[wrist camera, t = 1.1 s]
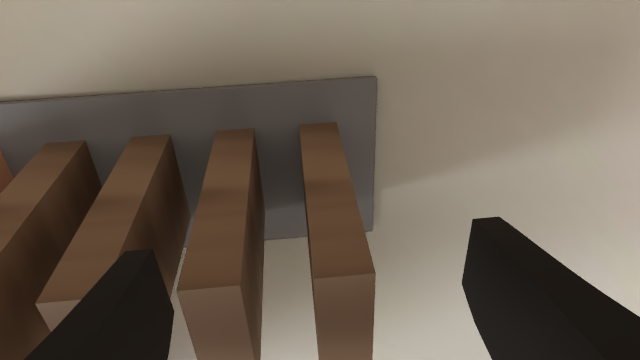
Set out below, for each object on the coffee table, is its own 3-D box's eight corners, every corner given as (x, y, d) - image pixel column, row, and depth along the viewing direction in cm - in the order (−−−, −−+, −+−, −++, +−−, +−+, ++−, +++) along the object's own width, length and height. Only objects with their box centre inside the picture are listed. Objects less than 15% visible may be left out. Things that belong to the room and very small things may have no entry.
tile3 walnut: (191, 217, 21) (144, 397, 14) (156, 219, 21) (91, 403, 14) (170, 133, 19) (100, 297, 11) (131, 136, 19) (35, 303, 11)
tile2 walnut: (265, 210, 21) (259, 386, 14) (231, 213, 21) (207, 391, 14) (253, 127, 19) (239, 285, 11) (215, 130, 19) (176, 291, 11)
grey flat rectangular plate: (371, 227, 23) (372, 231, 23) (-13, 259, 22) (-17, 264, 22) (375, 76, 18) (377, 78, 18) (-105, 109, 18) (-110, 112, 17)
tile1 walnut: (338, 205, 22) (371, 374, 14) (305, 207, 21) (320, 379, 14) (336, 121, 19) (375, 273, 12) (298, 124, 19) (313, 278, 12)
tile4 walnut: (115, 223, 21) (26, 409, 14) (81, 226, 21) (-28, 414, 13) (85, 140, 19) (-44, 310, 11) (45, 143, 19) (-111, 316, 11)
